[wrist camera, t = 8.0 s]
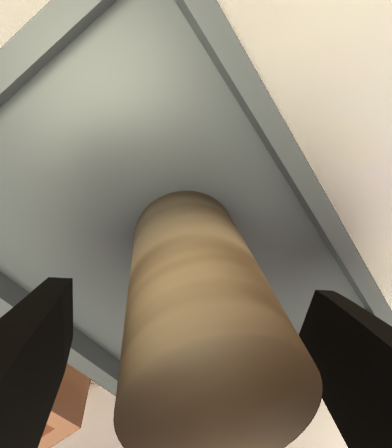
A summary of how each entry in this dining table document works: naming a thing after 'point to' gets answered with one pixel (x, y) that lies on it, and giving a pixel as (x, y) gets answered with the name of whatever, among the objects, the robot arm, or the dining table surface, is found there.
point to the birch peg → (207, 339)
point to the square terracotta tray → (66, 408)
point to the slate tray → (150, 162)
